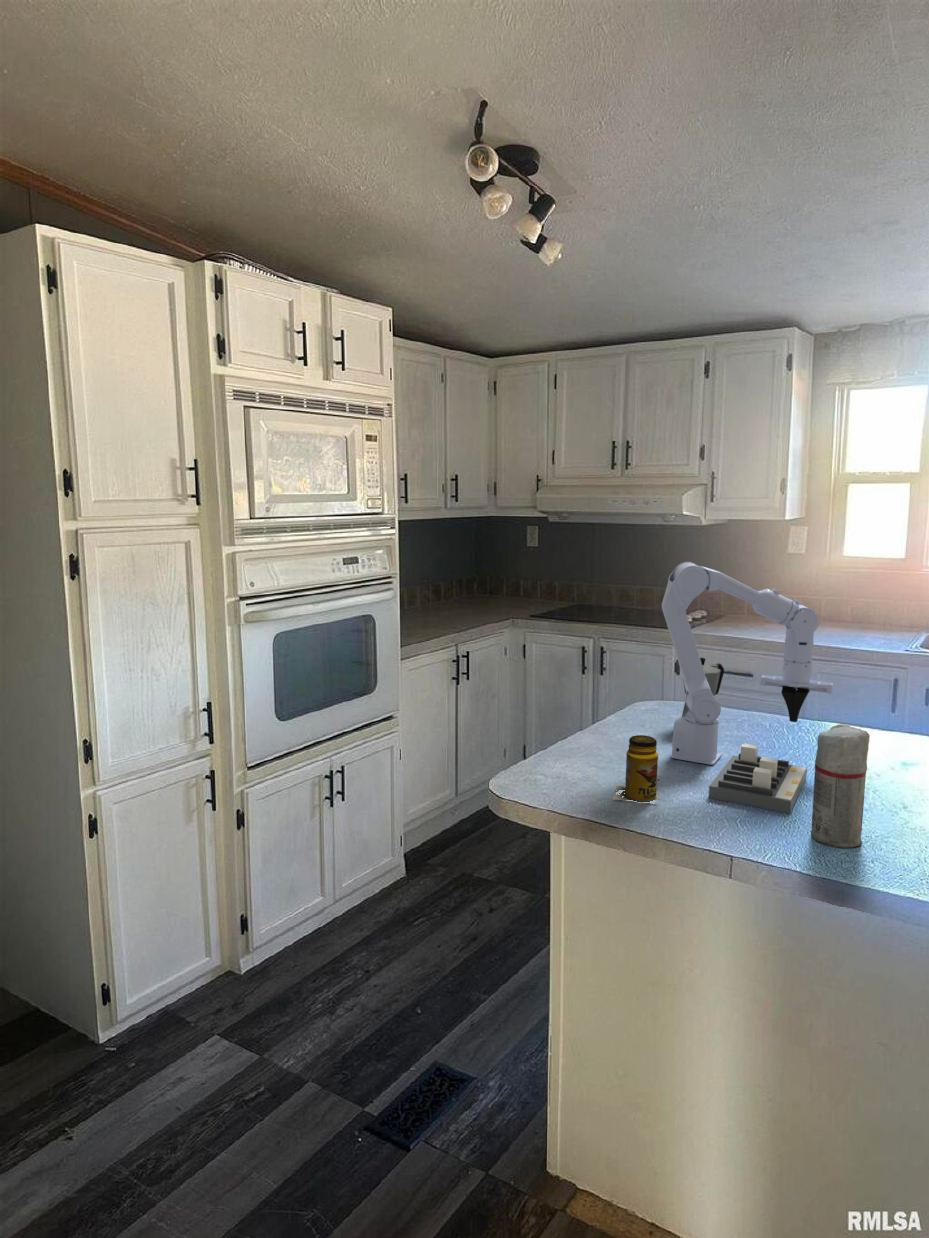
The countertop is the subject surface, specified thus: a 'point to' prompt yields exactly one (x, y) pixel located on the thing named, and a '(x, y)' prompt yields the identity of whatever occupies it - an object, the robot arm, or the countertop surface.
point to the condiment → (640, 771)
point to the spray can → (840, 786)
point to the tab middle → (769, 765)
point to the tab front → (762, 778)
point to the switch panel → (739, 789)
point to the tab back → (749, 752)
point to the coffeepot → (709, 679)
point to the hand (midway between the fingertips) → (793, 720)
